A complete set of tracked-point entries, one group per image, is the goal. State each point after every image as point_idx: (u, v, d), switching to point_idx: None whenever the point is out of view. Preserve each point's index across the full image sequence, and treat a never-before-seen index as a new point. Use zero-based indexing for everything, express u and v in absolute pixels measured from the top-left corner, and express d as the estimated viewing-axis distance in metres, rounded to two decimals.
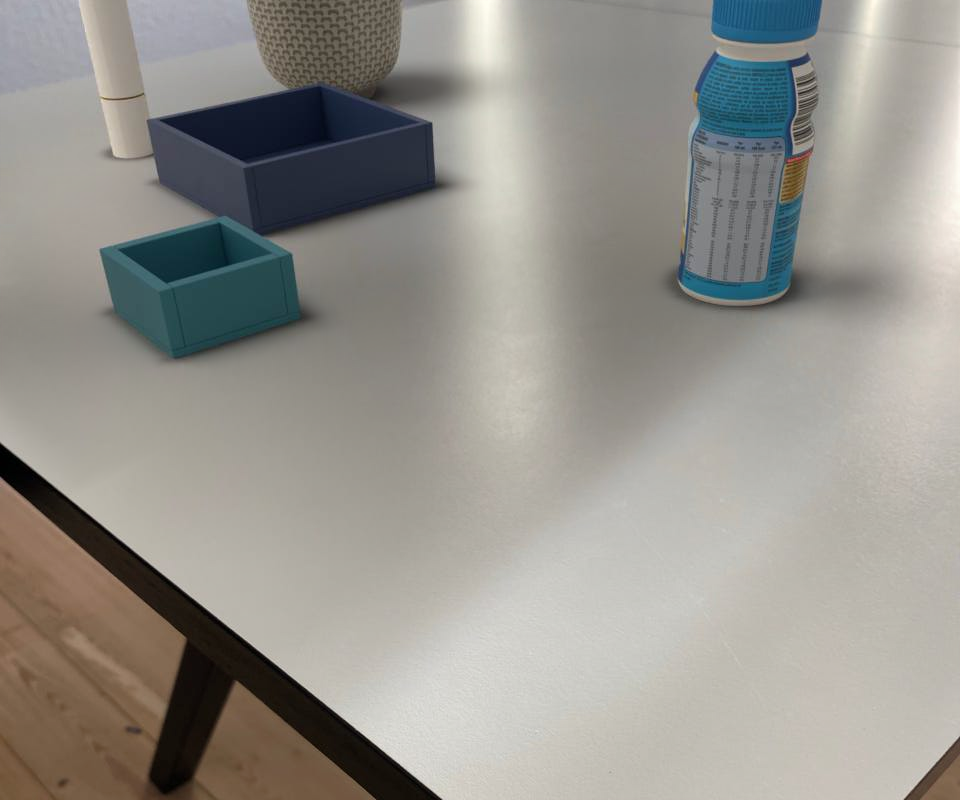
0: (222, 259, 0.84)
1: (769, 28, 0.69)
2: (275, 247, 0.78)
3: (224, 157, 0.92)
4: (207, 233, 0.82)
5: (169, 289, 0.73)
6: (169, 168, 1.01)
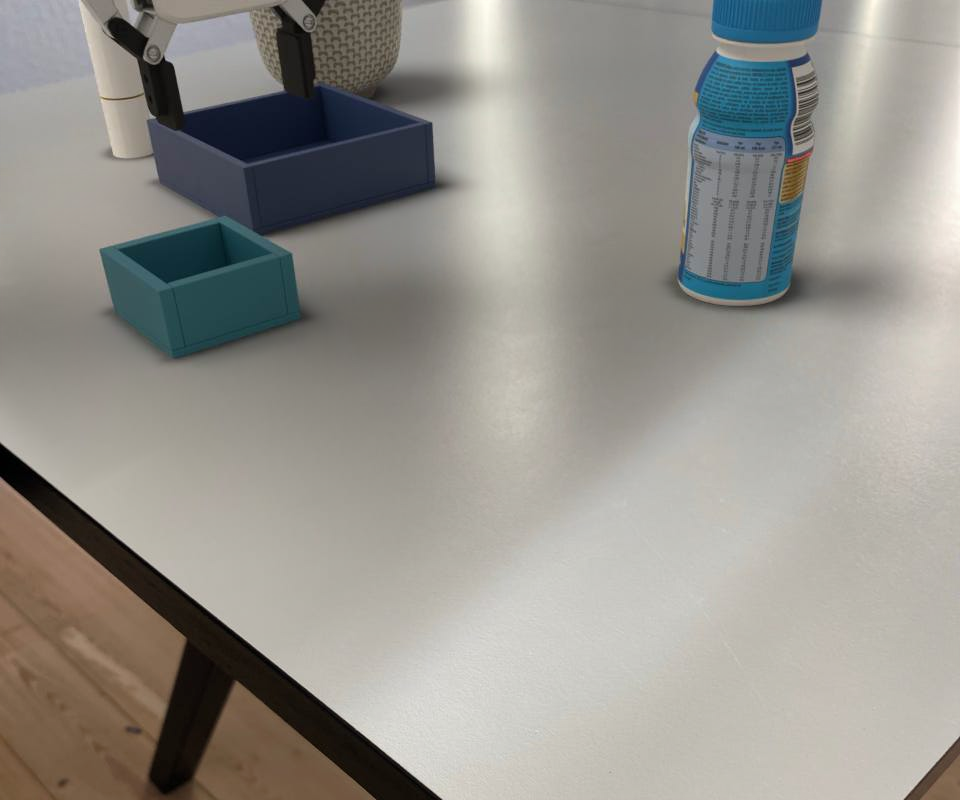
0: (222, 259, 0.84)
1: (769, 28, 0.69)
2: (275, 247, 0.78)
3: (224, 157, 0.92)
4: (207, 233, 0.82)
5: (169, 289, 0.73)
6: (169, 168, 1.01)
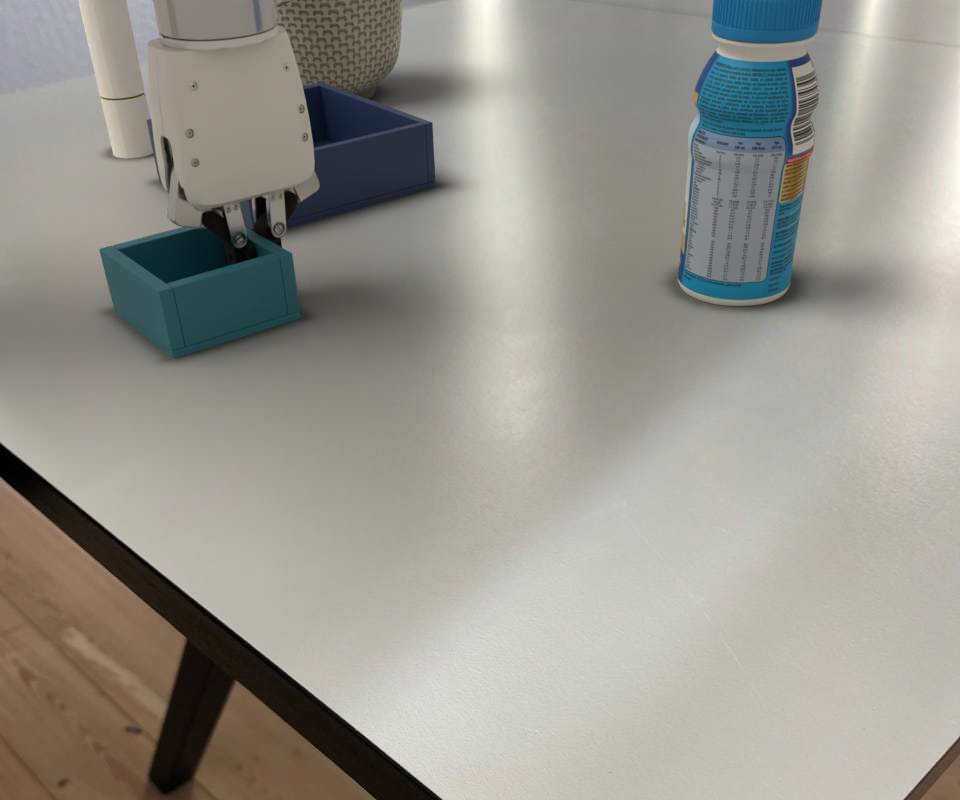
0: (222, 259, 0.84)
1: (769, 28, 0.69)
2: (275, 247, 0.78)
3: None
4: (207, 233, 0.82)
5: (169, 289, 0.73)
6: None
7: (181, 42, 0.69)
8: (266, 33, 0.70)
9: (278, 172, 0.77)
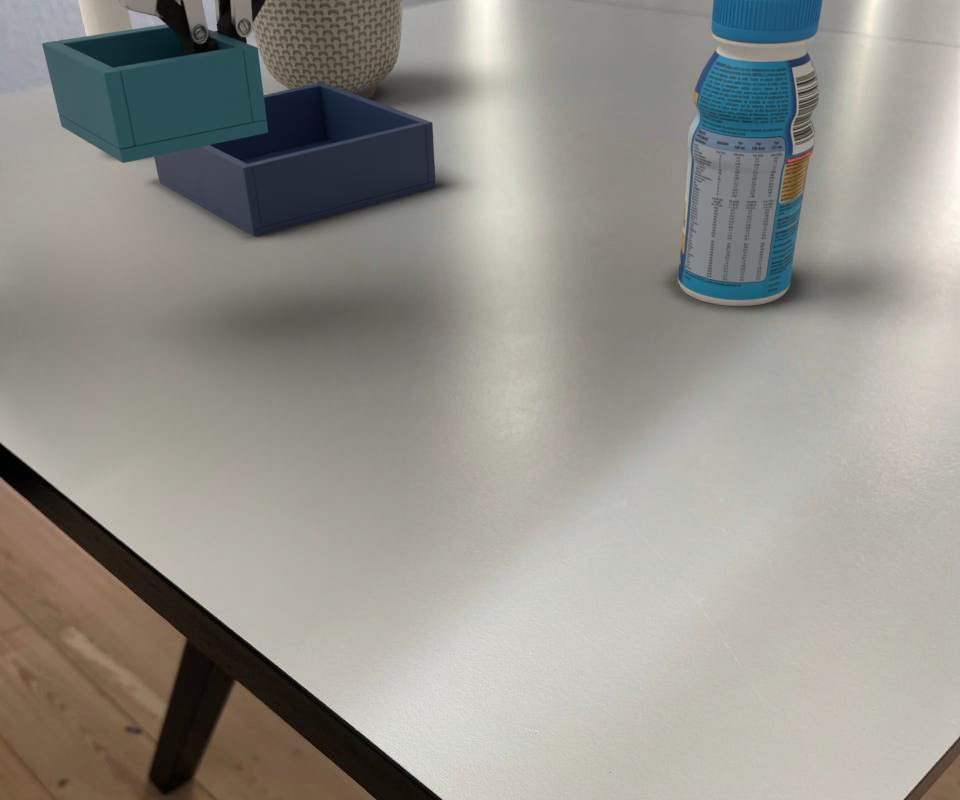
0: None
1: (769, 28, 0.69)
2: (239, 43, 0.70)
3: (224, 157, 0.92)
4: (165, 37, 0.74)
5: (116, 72, 0.65)
6: (169, 168, 1.01)
7: None
8: None
9: None
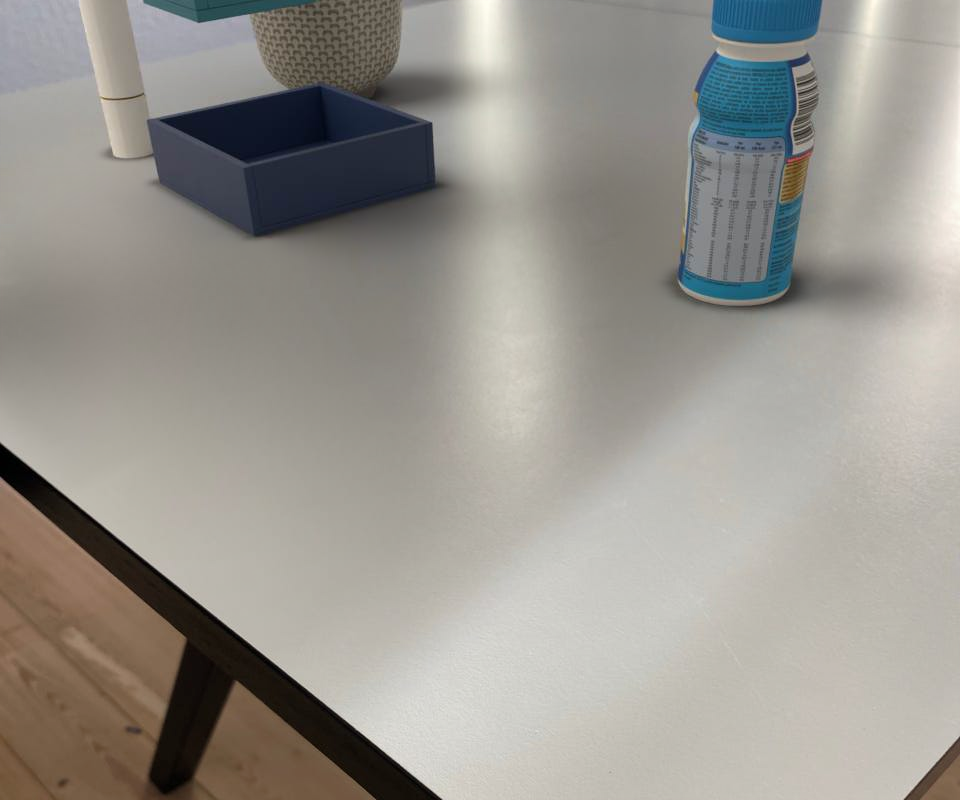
0: None
1: (769, 28, 0.69)
2: None
3: (224, 157, 0.92)
4: None
5: None
6: (169, 168, 1.01)
7: None
8: None
9: None
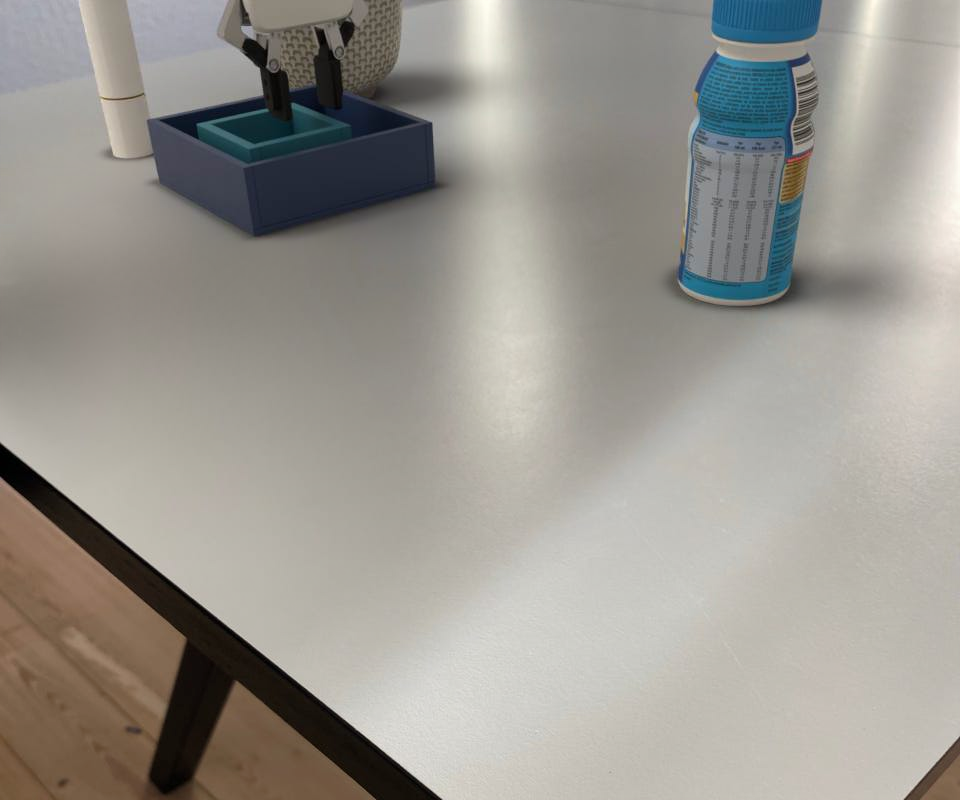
0: None
1: (769, 28, 0.69)
2: (336, 122, 0.99)
3: (224, 157, 0.92)
4: None
5: (257, 147, 0.94)
6: (169, 168, 1.01)
7: None
8: None
9: (324, 5, 0.94)
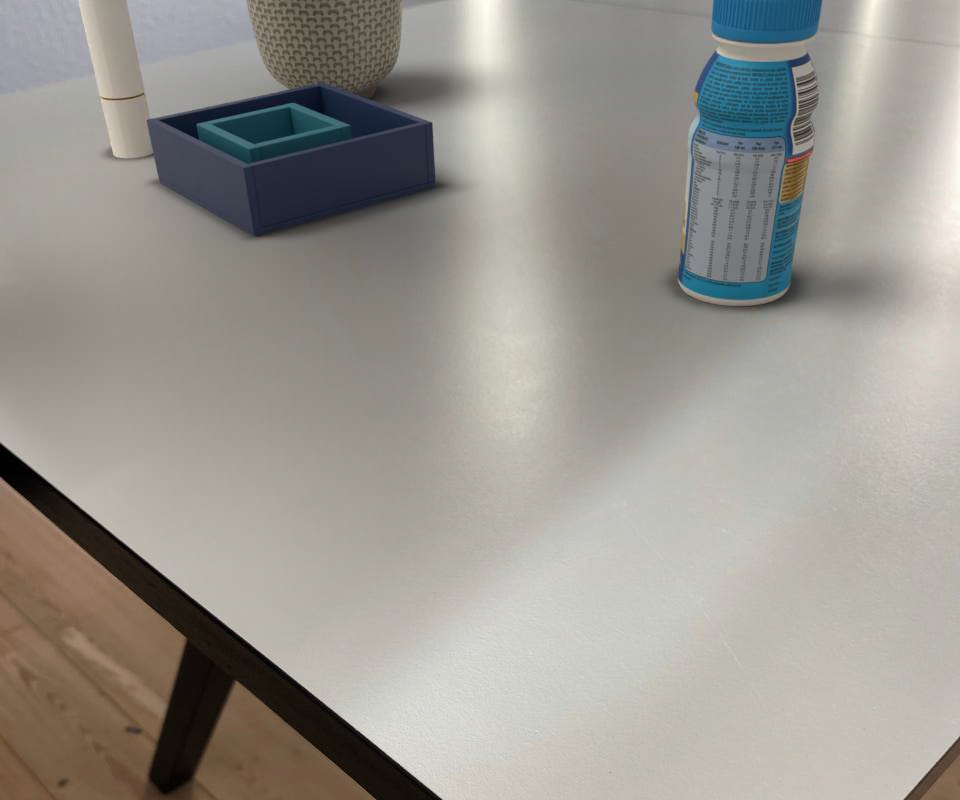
0: None
1: (769, 28, 0.69)
2: (336, 122, 0.99)
3: (224, 157, 0.92)
4: (279, 115, 1.03)
5: (257, 147, 0.94)
6: (169, 168, 1.01)
7: None
8: None
9: None
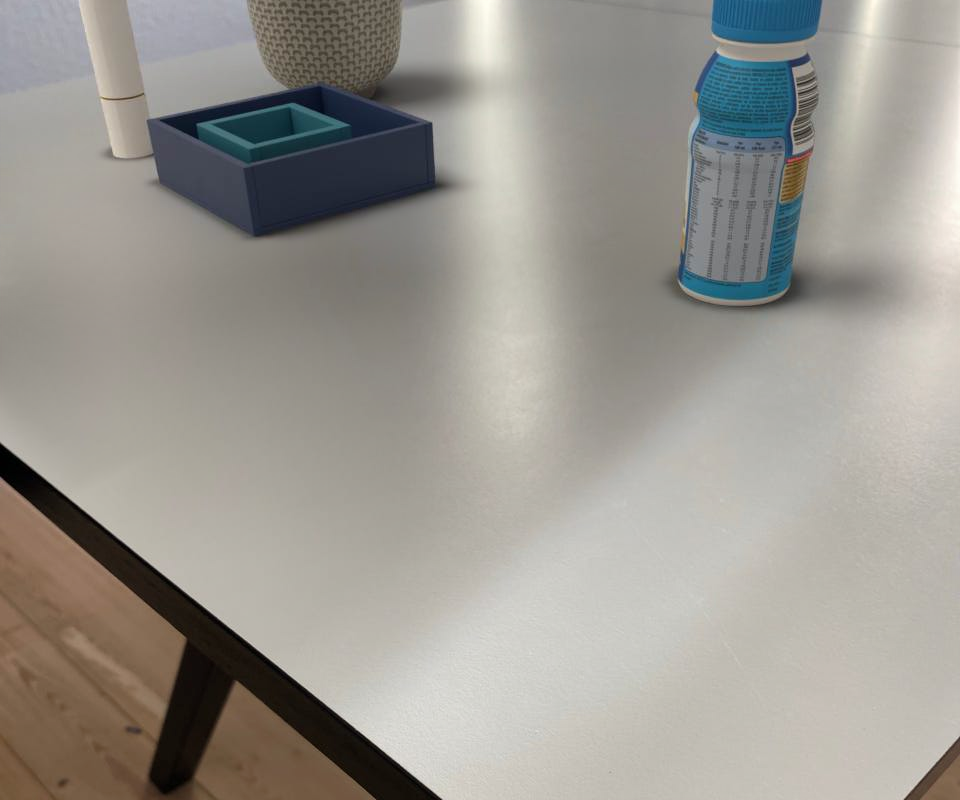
0: None
1: (769, 28, 0.69)
2: (336, 122, 0.99)
3: (224, 157, 0.92)
4: (279, 115, 1.03)
5: (257, 147, 0.94)
6: (169, 168, 1.01)
7: None
8: None
9: None
